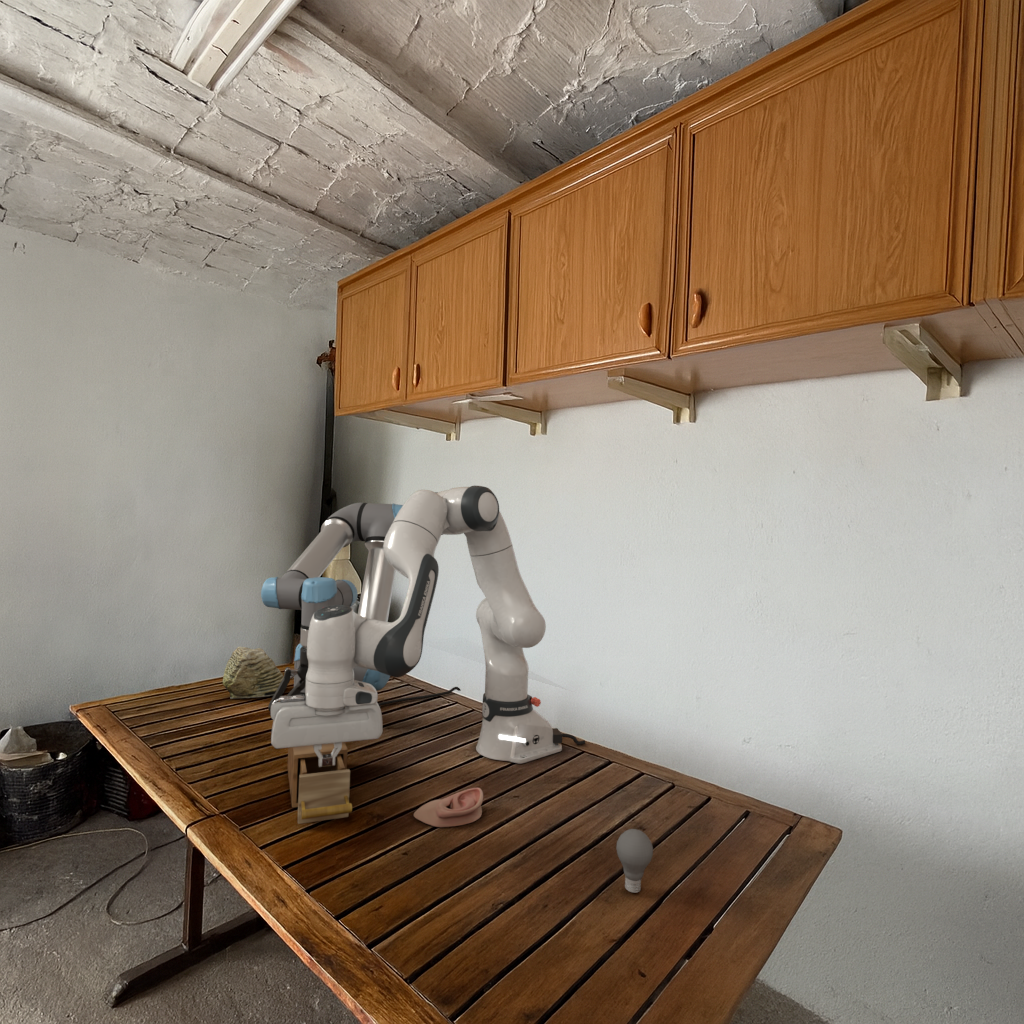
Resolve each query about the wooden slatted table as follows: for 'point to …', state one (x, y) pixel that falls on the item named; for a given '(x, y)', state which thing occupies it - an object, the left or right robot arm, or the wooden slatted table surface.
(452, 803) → the anatomical model
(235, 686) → the fossil
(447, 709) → the wooden slatted table surface
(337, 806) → the drawer
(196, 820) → the wooden slatted table surface
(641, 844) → the light bulb
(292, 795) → the cabinet
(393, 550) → the right robot arm
